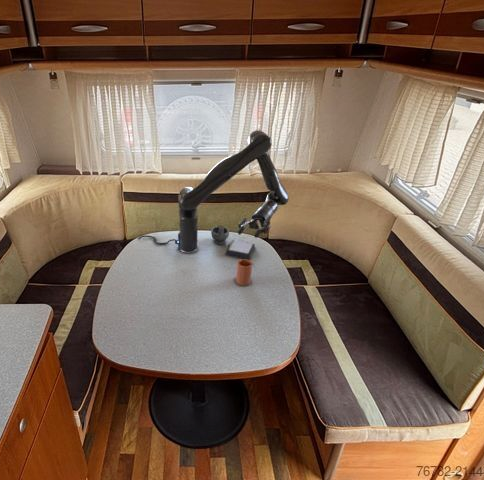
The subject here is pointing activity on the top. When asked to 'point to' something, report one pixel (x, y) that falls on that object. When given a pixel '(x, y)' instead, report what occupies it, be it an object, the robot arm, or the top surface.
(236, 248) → the scale
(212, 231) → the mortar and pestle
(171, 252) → the top surface
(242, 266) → the cup
